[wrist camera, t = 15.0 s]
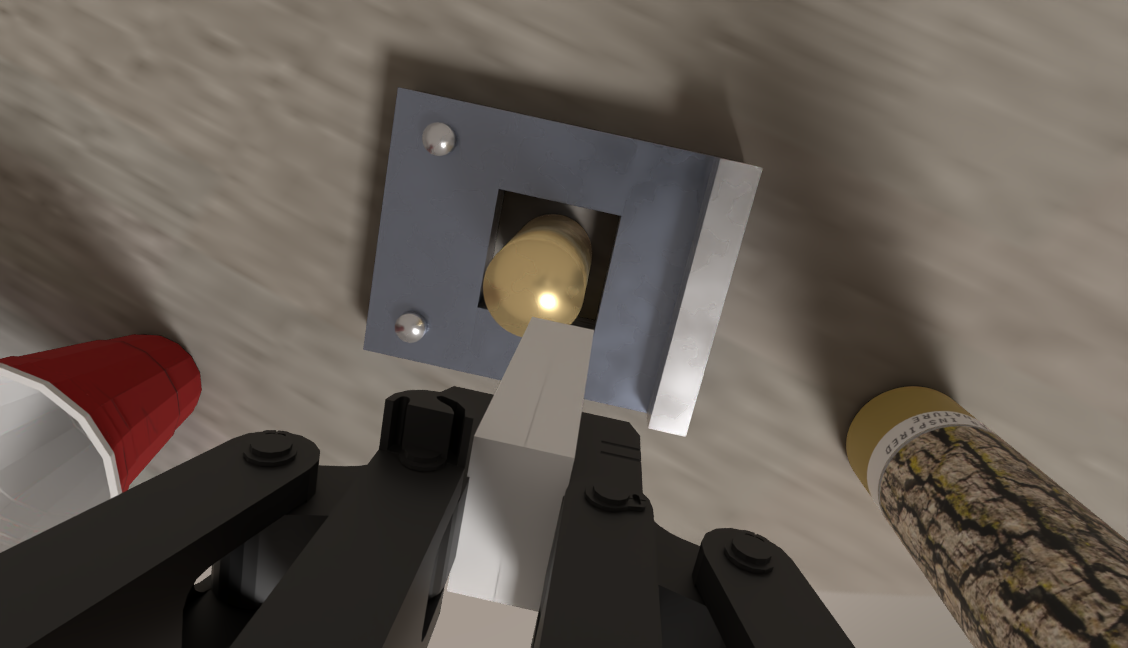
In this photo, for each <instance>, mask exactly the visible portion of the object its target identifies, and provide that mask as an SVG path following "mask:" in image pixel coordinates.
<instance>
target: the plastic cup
mask: <svg viewBox="0 0 1128 648" xmlns="http://www.w3.org/2000/svg"><path fill="white" fill-rule="evenodd" d="M201 391H202V388H201V379H200V372H199V370H198V368H197V366H196V364H195V363H194V361H193V359H192V357H191V356H190V355H189V354H188V353H187V352H186V351H185V350H184V349H183V348H182V347H181V346H180V345H179V344H178V343H175V342H173V341H171V340H169V339H167V338H164V337H162V336H158V335H136V334H134V335H129V336H124V337H119V338H114V339H109V340H96V341H91V342H86V343H81V344H76V345H71V346H67V347H62V348H57V349H52V350H47V351H43V352H38V353H33V354H28V355H23V356H19V357H17V356H10V357H6V358H2V359H0V553H1V552H3V551H5V550H7V549H9V548H11V547H13V546H15V545H17V544H19V543H21V542H23V541H25V540H27V539H29V538H31V537H33V536H35V535H38V534H40V533H42V532H44V531H46V530H48V529H50V528H52V527H54V526H56V525H58V524H60V523H62V522H64V521H66V520H68V519H70V518H72V517H74V516H76V515H78V514H80V513H82V512H84V511H86V510H88V509H90V508H93V507H95V506H97V505H99V504H101V503H103V502H105V501H107V500H109V499H111V498H113V497H115V496H117V495H119V494H121V493H123V492H125V491H127V490H128V488H129V485H130V484H131V483H132V481H133V480H134V479H135V478H136V477H137V476H138V475H139V473H140V472H141V471H142V470H143V469H144V468H145V467H146V465H147V464H148V463H149V462H150V461H151V460H152V459H153V457H154V456H155V455H156V454H157V453H158V452H159V451H160V449H161V448H162V447H163V446H164V445H165V444H166V443H167V441H168V440H169V439H170V438H171V437H172V436H173V435H174V432H175V430H176V429H177V428H178V427H179V426H180V425H181V424H182V422H183V421H184V420H185V419H186V418H187V417H188V416H189V415H190V414H191V413H192V412H193V411H194V408H195V406H196V405H197V403H198V400H199V397H200V394H201Z"/></svg>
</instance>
